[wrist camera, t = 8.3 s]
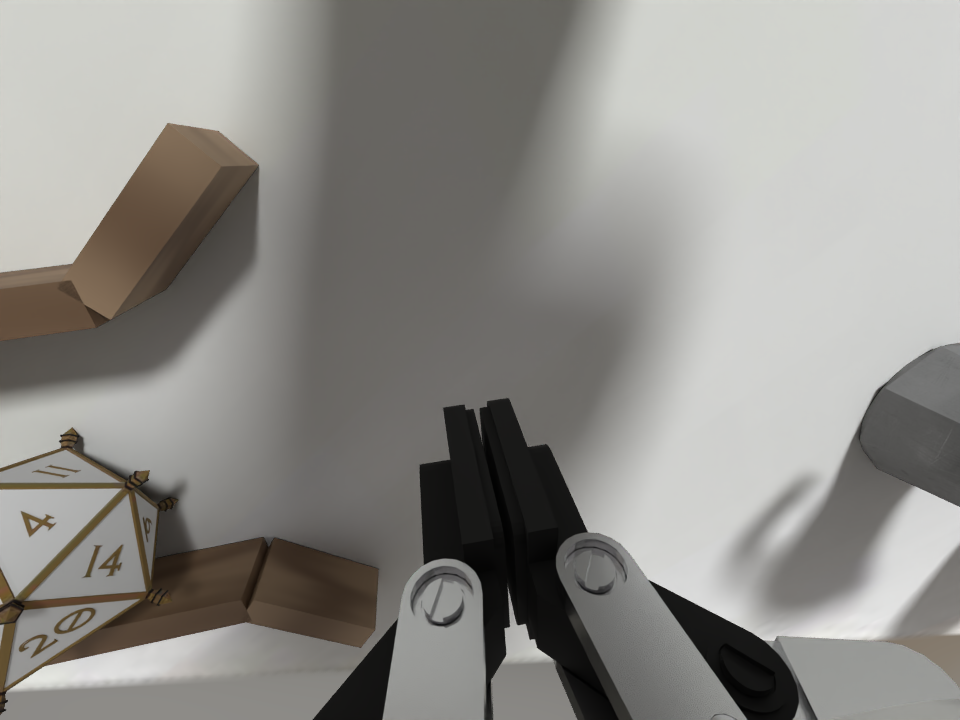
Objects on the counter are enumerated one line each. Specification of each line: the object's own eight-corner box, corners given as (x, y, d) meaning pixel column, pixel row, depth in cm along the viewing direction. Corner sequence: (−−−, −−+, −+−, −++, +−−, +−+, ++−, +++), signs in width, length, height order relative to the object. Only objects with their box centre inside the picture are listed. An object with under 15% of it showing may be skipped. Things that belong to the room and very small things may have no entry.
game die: (160, 406, 22) (176, 432, 14) (187, 563, 23) (216, 668, 15) (-130, 454, 16) (-364, 539, 9) (-81, 661, 17) (-256, 910, 9)
